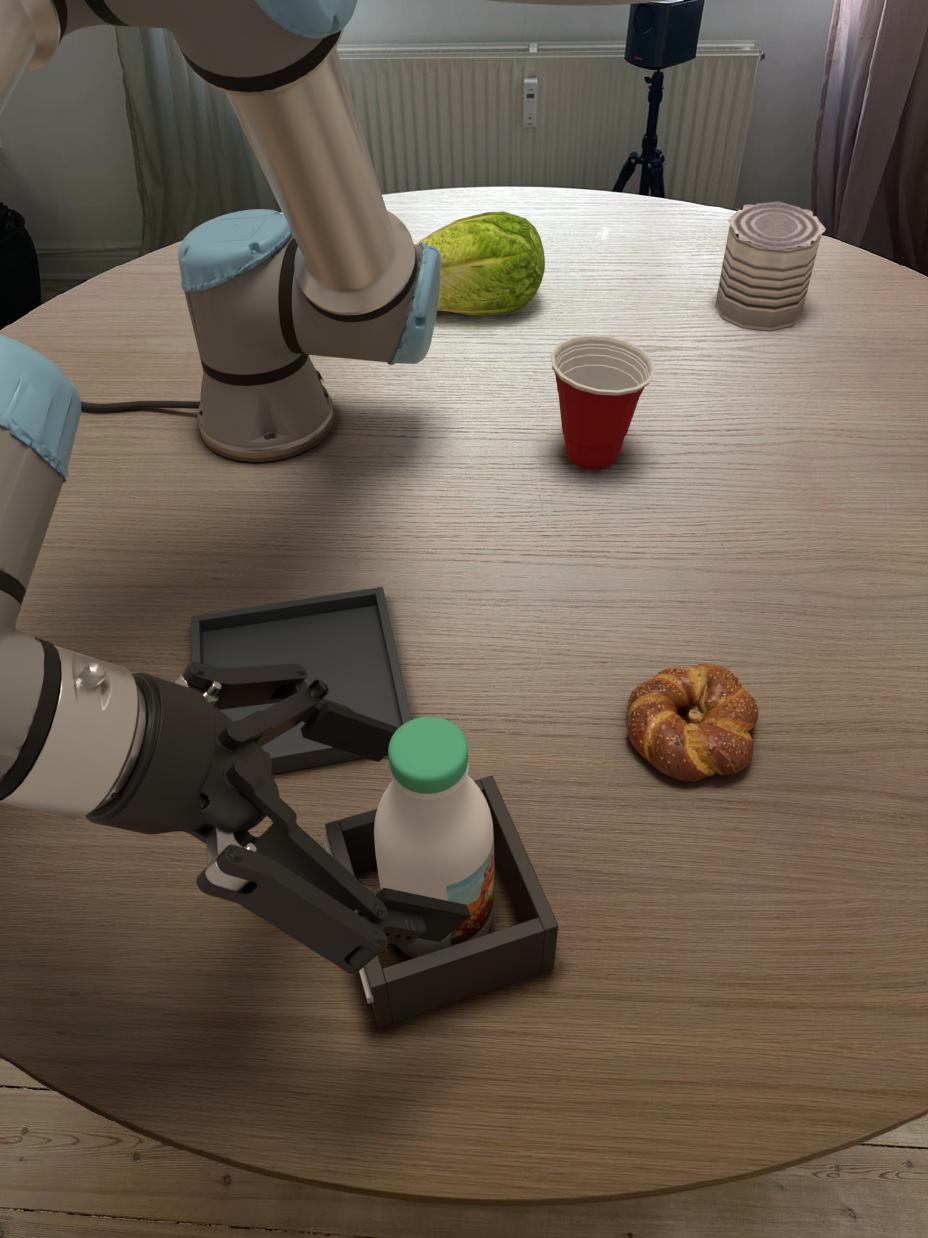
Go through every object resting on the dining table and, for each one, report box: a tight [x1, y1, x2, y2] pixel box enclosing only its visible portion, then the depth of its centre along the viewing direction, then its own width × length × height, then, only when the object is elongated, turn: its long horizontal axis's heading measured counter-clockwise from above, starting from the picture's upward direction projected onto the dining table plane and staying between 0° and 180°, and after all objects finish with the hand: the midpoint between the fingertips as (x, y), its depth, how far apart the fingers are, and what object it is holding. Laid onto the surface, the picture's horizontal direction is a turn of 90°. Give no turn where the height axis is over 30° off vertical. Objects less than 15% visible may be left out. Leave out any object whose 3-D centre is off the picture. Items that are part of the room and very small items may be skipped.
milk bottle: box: [374, 716, 495, 959], centre depth 63 cm, size 8×8×20 cm
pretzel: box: [626, 663, 760, 782], centre depth 80 cm, size 12×11×4 cm
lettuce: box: [415, 210, 546, 317], centre depth 129 cm, size 13×22×14 cm
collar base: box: [321, 775, 559, 1028], centre depth 68 cm, size 13×13×6 cm
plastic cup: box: [550, 334, 657, 471], centre depth 104 cm, size 11×11×12 cm
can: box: [714, 200, 827, 332], centre depth 127 cm, size 11×11×12 cm
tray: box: [189, 586, 413, 775], centre depth 85 cm, size 18×18×2 cm
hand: (420, 828), depth 61 cm, fingers open, 13 cm apart
